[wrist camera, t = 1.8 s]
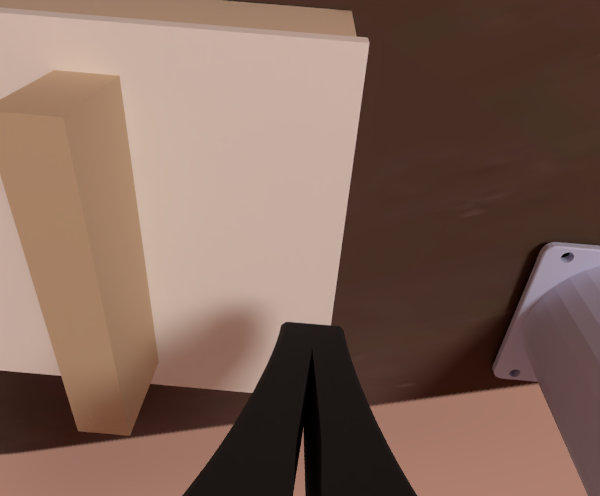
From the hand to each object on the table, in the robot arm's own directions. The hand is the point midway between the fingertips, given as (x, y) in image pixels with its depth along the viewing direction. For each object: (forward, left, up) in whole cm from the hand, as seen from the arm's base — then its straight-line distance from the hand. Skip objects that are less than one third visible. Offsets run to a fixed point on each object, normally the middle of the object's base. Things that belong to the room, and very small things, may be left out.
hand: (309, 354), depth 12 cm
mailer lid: (+7, 0, -4) cm, 9 cm away
